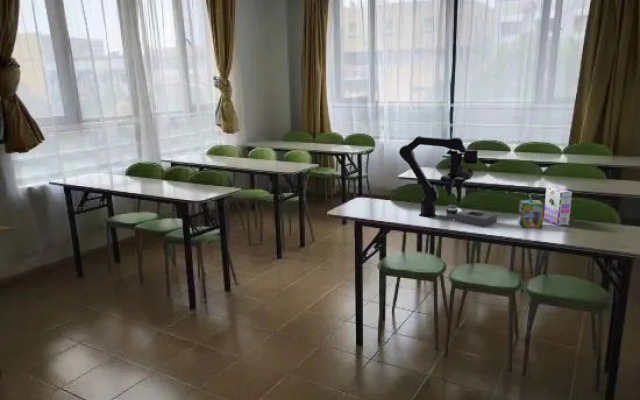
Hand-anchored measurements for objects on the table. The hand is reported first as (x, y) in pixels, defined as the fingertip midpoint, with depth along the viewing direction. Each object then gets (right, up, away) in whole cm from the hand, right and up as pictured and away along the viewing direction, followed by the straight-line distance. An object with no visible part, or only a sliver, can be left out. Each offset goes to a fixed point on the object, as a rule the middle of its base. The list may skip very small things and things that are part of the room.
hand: (453, 194), depth 247 cm
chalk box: (+32, -15, -14) cm, 38 cm away
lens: (0, -12, +3) cm, 12 cm away
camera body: (+9, -14, -6) cm, 17 cm away
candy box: (+47, -14, -9) cm, 50 cm away
